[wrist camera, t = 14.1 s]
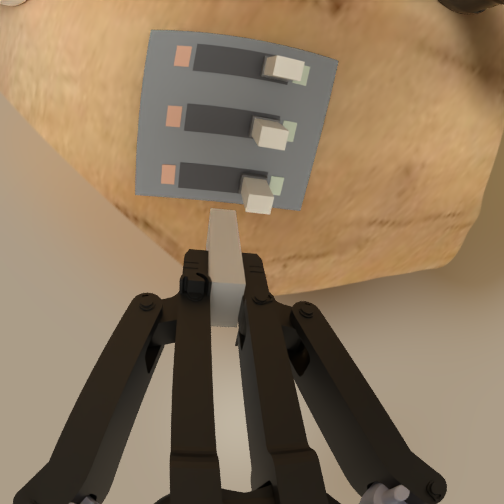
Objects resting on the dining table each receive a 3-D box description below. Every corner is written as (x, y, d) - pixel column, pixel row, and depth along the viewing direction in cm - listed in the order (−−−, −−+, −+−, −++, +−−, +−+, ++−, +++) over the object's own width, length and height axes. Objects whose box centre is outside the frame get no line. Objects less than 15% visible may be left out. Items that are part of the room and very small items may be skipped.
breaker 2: (252, 114, 30) (260, 123, 25) (278, 119, 31) (291, 129, 26) (248, 135, 31) (255, 147, 27) (274, 139, 32) (286, 152, 27)
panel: (153, 31, 24) (150, 29, 23) (334, 60, 28) (339, 60, 27) (137, 191, 35) (135, 195, 34) (297, 206, 39) (300, 211, 38)
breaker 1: (264, 56, 26) (275, 52, 21) (290, 61, 27) (307, 60, 22) (259, 76, 28) (270, 76, 23) (286, 81, 28) (302, 83, 23)
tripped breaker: (241, 172, 34) (247, 192, 29) (266, 175, 34) (276, 195, 30) (238, 191, 35) (243, 213, 30) (262, 193, 36) (271, 216, 31)
